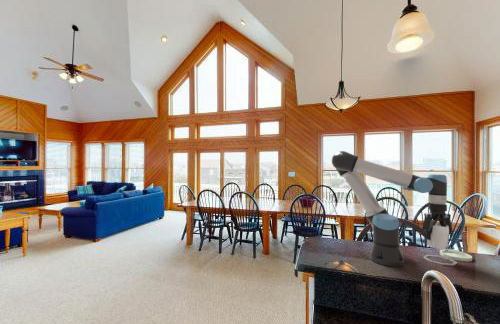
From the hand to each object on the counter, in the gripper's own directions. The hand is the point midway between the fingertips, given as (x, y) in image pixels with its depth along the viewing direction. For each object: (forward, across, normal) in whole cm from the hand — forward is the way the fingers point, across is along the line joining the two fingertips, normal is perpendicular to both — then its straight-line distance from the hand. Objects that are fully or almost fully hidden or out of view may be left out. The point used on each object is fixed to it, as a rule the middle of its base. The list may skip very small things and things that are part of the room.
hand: (437, 245), depth 115 cm
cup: (+1, 0, 0) cm, 1 cm away
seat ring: (+8, +1, 0) cm, 8 cm away
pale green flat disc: (+7, +15, +3) cm, 17 cm away
